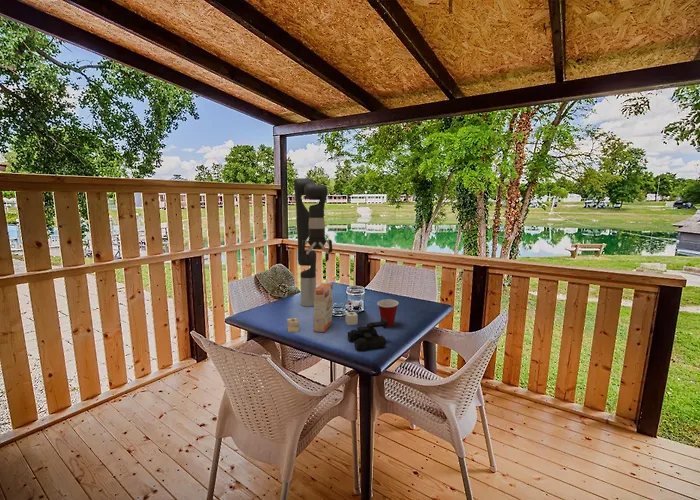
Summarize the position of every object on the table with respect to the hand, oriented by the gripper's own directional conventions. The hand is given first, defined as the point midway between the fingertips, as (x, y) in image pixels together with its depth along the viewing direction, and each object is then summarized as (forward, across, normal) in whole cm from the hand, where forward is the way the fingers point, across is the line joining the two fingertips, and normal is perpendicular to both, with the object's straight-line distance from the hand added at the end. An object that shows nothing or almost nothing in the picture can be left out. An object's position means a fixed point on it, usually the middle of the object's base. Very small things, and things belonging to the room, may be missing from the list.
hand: (317, 261), depth 154 cm
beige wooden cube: (+34, -18, -6) cm, 38 cm away
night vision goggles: (+35, -21, +18) cm, 44 cm away
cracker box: (+34, -3, -3) cm, 34 cm away
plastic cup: (+34, -35, -1) cm, 49 cm away
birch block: (+33, +12, -2) cm, 36 cm away
